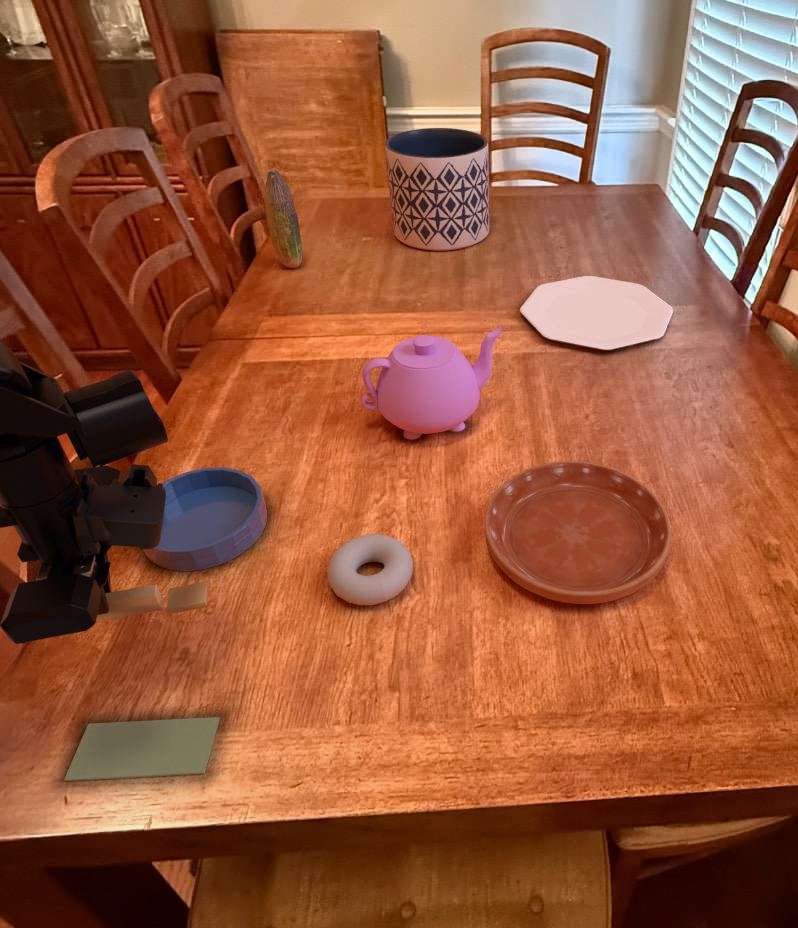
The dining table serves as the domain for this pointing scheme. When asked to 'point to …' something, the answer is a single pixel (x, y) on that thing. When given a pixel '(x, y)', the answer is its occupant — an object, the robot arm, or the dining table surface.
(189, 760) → the mat
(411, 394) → the teapot
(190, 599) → the beige slabs
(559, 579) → the saucer
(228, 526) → the bowl
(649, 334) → the plate
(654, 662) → the dining table surface
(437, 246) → the planter
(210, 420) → the dining table surface
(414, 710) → the dining table surface
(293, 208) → the vegetable
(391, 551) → the donut
